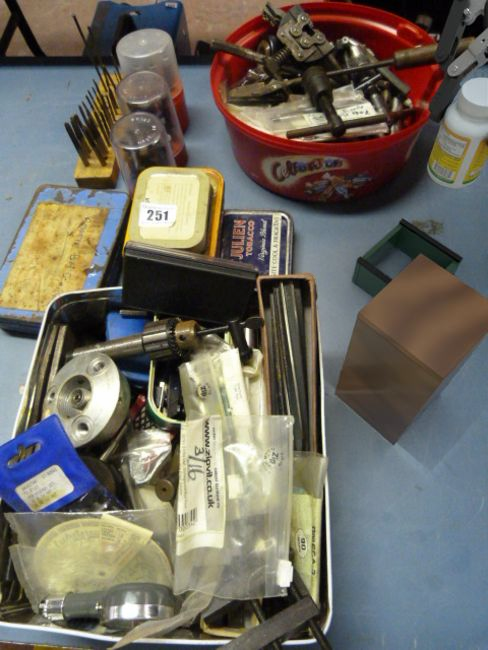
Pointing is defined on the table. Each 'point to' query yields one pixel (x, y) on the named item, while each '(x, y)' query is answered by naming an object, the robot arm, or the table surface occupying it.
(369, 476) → the table surface
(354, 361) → the brown rectangular block
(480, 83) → the supplement bottle
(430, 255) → the tray
